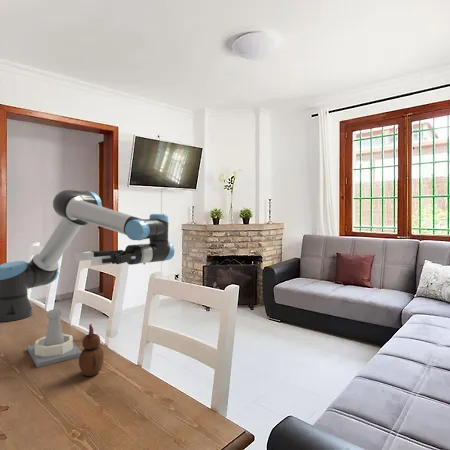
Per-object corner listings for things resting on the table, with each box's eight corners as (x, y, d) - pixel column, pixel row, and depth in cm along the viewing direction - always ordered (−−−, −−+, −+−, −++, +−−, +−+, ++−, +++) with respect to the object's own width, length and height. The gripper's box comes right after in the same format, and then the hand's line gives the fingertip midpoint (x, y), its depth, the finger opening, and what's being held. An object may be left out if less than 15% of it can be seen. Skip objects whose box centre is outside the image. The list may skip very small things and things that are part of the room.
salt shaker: (57, 353, 108) (56, 313, 108) (40, 352, 109) (40, 312, 109) (67, 346, 114) (67, 308, 114) (51, 345, 115) (51, 307, 114)
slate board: (27, 349, 114) (27, 346, 114) (68, 340, 122) (68, 337, 122) (37, 367, 102) (36, 363, 101) (82, 355, 110) (82, 352, 110)
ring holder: (54, 340, 119) (54, 332, 119) (80, 345, 115) (79, 336, 115) (27, 353, 108) (26, 344, 108) (54, 358, 105) (53, 349, 105)
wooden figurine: (93, 380, 95) (93, 326, 94) (75, 377, 96) (74, 325, 95) (107, 368, 101) (106, 319, 100) (89, 366, 102) (89, 317, 102)
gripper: (155, 267, 124) (99, 275, 109) (122, 260, 141) (69, 265, 126) (155, 247, 123) (99, 252, 108) (122, 242, 141) (69, 245, 126)
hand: (83, 259), depth 117 cm, fingers open, 13 cm apart
